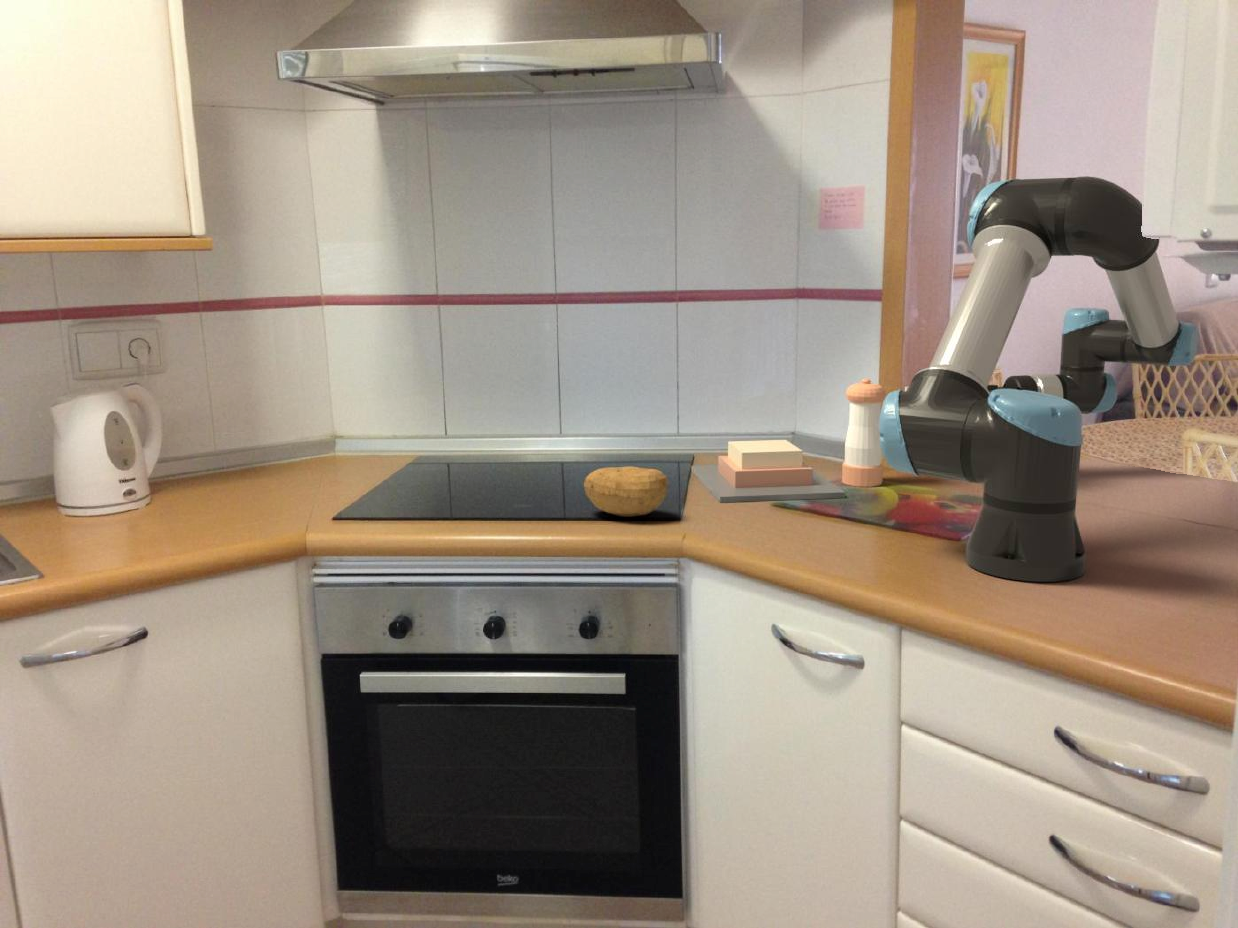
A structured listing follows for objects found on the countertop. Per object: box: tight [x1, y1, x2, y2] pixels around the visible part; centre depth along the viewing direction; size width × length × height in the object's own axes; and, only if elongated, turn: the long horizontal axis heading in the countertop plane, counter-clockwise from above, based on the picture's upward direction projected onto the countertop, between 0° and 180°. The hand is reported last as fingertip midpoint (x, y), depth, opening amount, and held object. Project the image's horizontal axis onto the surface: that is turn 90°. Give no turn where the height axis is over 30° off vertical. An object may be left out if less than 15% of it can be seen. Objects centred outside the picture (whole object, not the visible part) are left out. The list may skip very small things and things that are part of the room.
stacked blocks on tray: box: [691, 439, 846, 504], centre depth 190 cm, size 26×22×7 cm
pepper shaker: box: [841, 378, 887, 488], centre depth 189 cm, size 7×7×19 cm
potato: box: [583, 465, 669, 518], centre depth 168 cm, size 10×14×8 cm
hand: (919, 399), depth 189 cm, fingers open, 13 cm apart
